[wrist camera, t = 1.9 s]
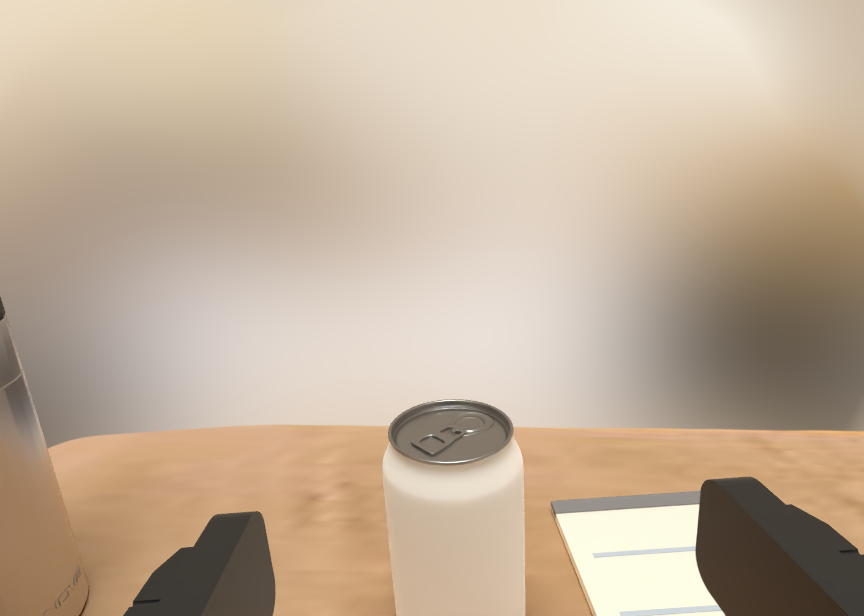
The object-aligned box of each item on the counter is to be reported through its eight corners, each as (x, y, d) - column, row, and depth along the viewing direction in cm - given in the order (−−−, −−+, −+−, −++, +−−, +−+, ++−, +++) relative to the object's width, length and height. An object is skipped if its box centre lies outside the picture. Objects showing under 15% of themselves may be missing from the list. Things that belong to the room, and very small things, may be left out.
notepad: (692, 868, 16) (694, 854, 16) (550, 509, 33) (551, 501, 33) (1104, 838, 16) (1111, 824, 16) (749, 496, 34) (750, 487, 33)
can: (551, 635, 24) (553, 424, 21) (462, 735, 20) (447, 491, 17) (461, 566, 29) (451, 384, 26) (374, 635, 25) (350, 429, 22)
